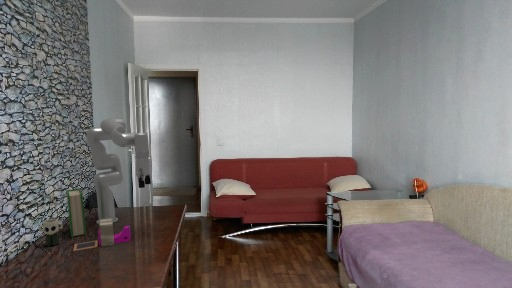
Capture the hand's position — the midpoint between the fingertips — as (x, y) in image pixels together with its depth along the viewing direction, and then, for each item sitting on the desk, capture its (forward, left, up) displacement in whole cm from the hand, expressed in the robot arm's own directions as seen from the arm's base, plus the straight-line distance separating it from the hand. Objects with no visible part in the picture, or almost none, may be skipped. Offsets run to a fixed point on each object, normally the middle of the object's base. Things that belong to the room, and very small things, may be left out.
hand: (145, 185), depth 199 cm
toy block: (+5, -18, -27) cm, 33 cm away
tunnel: (+4, -21, -27) cm, 34 cm away
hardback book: (-24, -37, -27) cm, 52 cm away
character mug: (-8, -48, -27) cm, 56 cm away
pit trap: (+4, -32, -27) cm, 42 cm away
